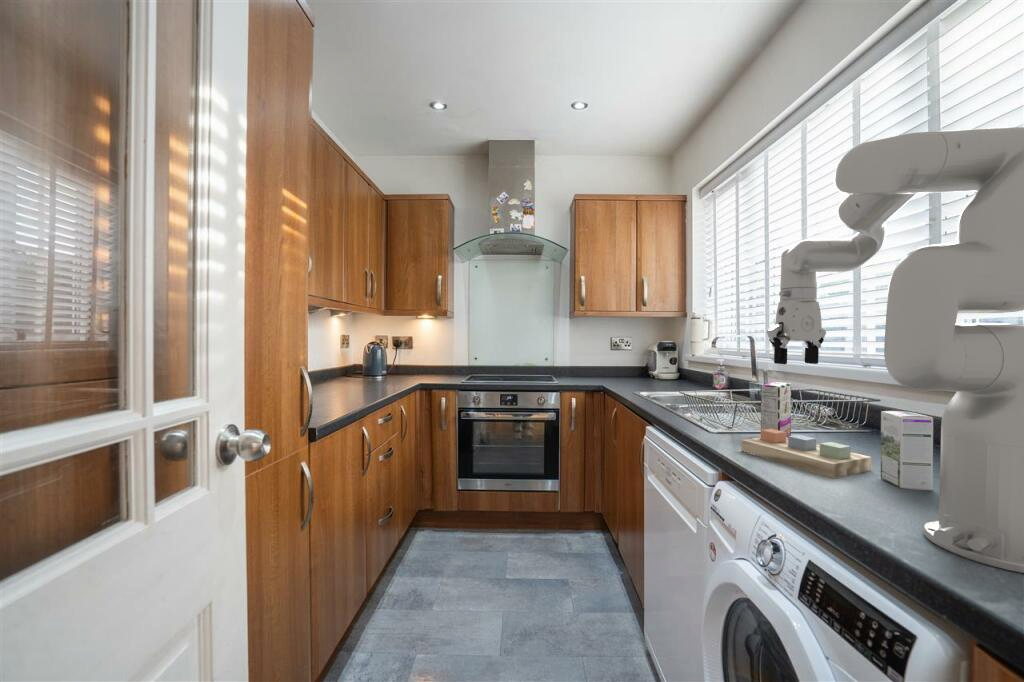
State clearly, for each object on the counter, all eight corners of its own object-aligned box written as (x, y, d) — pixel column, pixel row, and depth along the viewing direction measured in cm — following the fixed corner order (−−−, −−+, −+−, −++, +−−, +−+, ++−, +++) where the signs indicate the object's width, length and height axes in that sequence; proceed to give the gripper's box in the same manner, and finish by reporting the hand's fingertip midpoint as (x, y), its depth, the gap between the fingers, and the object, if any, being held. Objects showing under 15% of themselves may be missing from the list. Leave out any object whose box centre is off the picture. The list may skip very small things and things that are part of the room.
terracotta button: (775, 445, 100) (775, 433, 100) (760, 441, 103) (760, 429, 103) (786, 443, 101) (786, 432, 101) (770, 440, 105) (770, 428, 105)
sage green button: (839, 461, 87) (840, 448, 87) (819, 456, 90) (819, 443, 90) (850, 459, 88) (850, 446, 88) (830, 454, 92) (830, 441, 92)
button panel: (833, 478, 83) (833, 464, 83) (741, 451, 103) (741, 439, 103) (871, 470, 89) (871, 457, 89) (777, 446, 108) (777, 435, 108)
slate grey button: (805, 452, 93) (805, 440, 93) (788, 448, 97) (788, 436, 97) (816, 451, 95) (816, 438, 95) (798, 446, 98) (798, 434, 98)
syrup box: (934, 491, 77) (936, 416, 77) (898, 488, 78) (900, 415, 78) (911, 480, 83) (912, 411, 83) (878, 478, 84) (879, 409, 84)
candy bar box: (771, 435, 120) (772, 381, 120) (791, 438, 117) (792, 383, 116) (759, 441, 113) (760, 384, 113) (779, 445, 109) (780, 385, 109)
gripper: (783, 293, 95) (781, 365, 95) (840, 296, 99) (837, 364, 99) (757, 296, 102) (755, 362, 103) (811, 298, 106) (809, 362, 107)
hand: (796, 363), depth 101 cm, fingers open, 9 cm apart
